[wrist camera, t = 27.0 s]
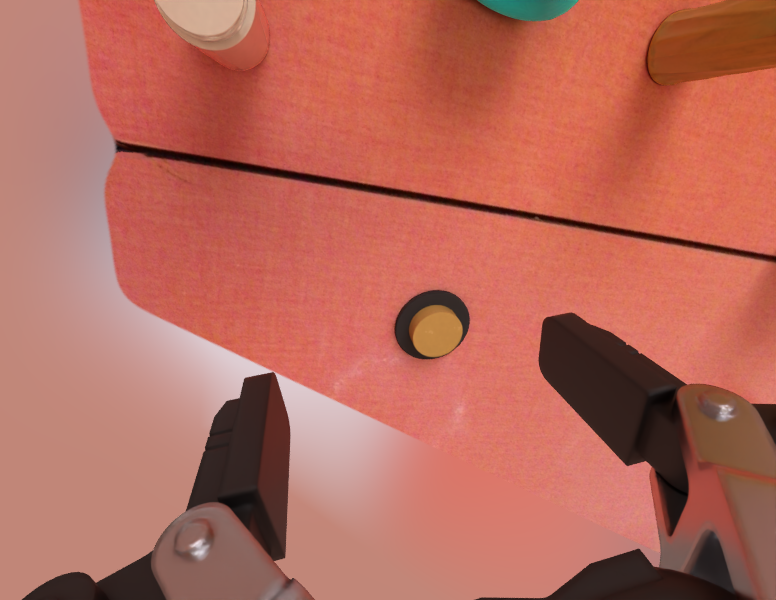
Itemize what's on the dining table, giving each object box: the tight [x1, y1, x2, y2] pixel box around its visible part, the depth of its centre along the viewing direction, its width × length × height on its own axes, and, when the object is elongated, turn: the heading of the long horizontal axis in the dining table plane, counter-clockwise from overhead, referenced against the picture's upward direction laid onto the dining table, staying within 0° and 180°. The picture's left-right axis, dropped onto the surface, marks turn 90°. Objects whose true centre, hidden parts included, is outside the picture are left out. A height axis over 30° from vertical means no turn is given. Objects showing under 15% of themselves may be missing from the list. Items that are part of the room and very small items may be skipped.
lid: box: [409, 305, 462, 357], centre depth 42 cm, size 6×6×2 cm
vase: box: [647, 0, 776, 85], centre depth 29 cm, size 6×6×14 cm
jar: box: [154, 0, 270, 71], centre depth 23 cm, size 5×5×11 cm
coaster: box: [395, 290, 470, 359], centre depth 43 cm, size 9×9×1 cm
